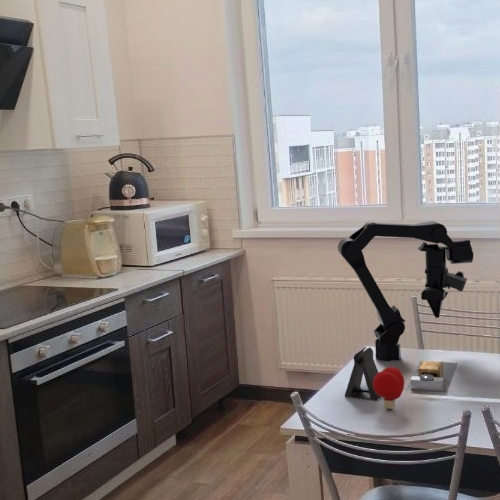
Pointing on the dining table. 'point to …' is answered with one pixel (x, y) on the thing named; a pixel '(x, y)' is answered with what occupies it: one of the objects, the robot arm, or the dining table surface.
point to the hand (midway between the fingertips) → (437, 317)
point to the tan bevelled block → (431, 368)
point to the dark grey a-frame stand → (366, 366)
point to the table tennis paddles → (389, 386)
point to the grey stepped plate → (432, 380)
